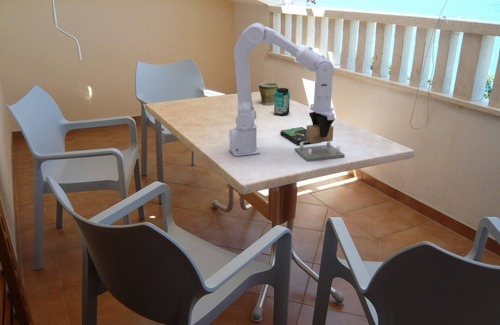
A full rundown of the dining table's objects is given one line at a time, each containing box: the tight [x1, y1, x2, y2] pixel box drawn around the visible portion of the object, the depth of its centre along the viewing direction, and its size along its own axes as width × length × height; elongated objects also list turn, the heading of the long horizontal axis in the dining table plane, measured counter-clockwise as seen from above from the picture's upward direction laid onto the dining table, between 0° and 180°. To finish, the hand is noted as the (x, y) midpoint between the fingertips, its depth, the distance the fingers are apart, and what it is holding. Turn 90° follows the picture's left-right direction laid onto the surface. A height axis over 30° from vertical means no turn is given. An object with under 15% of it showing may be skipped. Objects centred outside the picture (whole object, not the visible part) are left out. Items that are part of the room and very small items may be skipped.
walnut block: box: [306, 124, 334, 144], centre depth 144 cm, size 8×4×5 cm, turn 106°
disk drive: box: [279, 126, 322, 147], centre depth 162 cm, size 10×3×15 cm
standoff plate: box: [294, 141, 346, 162], centre depth 146 cm, size 14×11×4 cm
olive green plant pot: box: [258, 82, 279, 106], centre depth 215 cm, size 13×10×10 cm
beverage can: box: [273, 87, 291, 117], centre depth 194 cm, size 7×7×12 cm
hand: (320, 134), depth 144 cm, fingers closed on walnut block, 4 cm apart
